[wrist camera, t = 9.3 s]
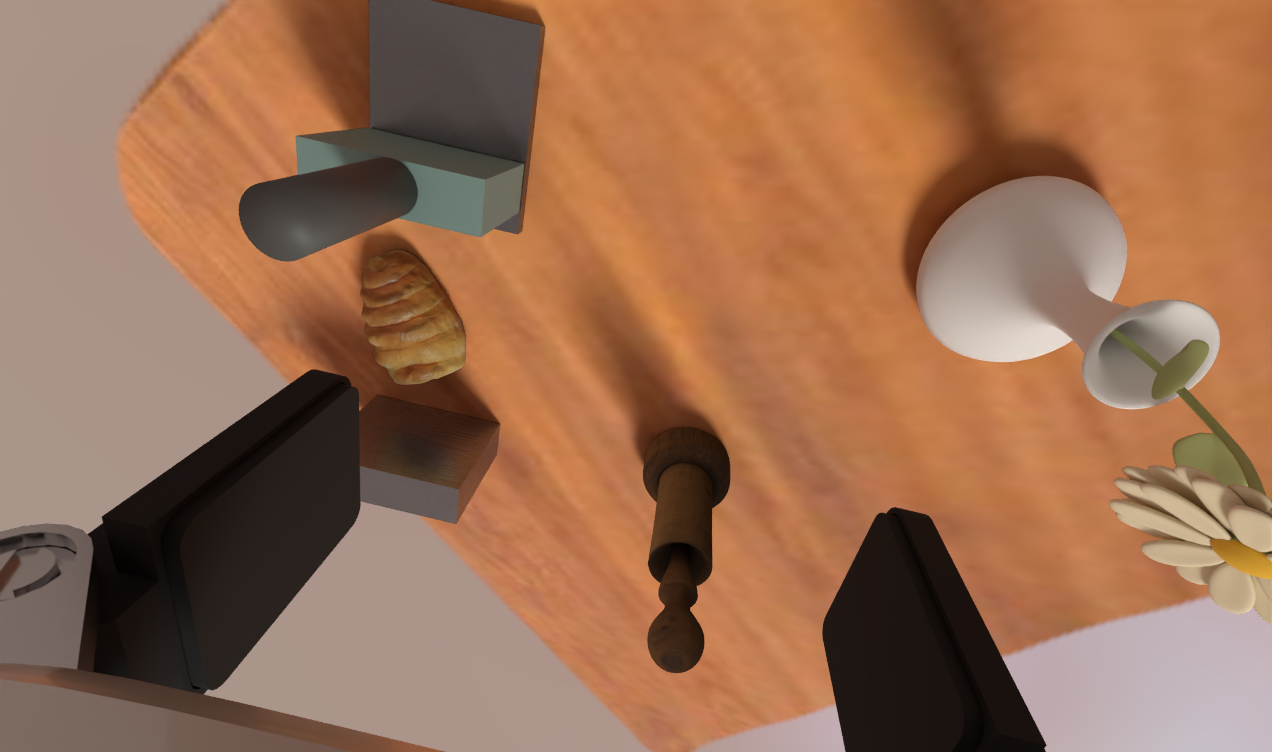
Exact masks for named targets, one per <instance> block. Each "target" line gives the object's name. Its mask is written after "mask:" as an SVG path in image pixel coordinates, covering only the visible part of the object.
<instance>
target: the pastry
mask: <svg viewBox="0 0 1272 752" xmlns="http://www.w3.org/2000/svg"><path fill="white" fill-rule="evenodd" d="M360 295H361V297H362V299H363V302H364V305H363V311H362V317H363V318H364V320H365V321H366V325H365V332H366V334H367V338H368V341H369V342H370V343H371V344H373V345H374V346H375V348H374V351H373V357H374V359H375V360H376V362H377V363H378V364H379V365H381V366H383V367H385V368H387V371H388V373H389V375H390V376H391V377H392V378H393V381H394V382H395V383H397V384H400V385H404V384H406V385H408V384H420V383H425V382H427V381H429V380H432V379H438V378H440V377H443V376H445V375H448V374H450V373H453V372H455V371H456V370H458V369H460V368H462V367H463V366H464V364H465V360H466V335H465V332H464V329H463V326H462V323H461V320H460V318H459V316H458V315H457V313H456V312H455V309H454V307H453V306H452V304H451V302H450V300H449V299H448V297H447V296H446V294H445V293H444V291H443V290H442V288H441V287H440V285H439V284H438V282H437V281H436V279H435V278H434V276H433V275H432V273H431V272H430V271H429V269H428V268H427V267H426V266H425V265H424V264H423V263H422V262H420V261H419V260H418V259H417V258H416V257H415V256H414V255H412V254H410V253H408V252H405V251H402V250H395V251H389V252H386V253H383V254H380V255H376V256H373V257H371V258H370V259H369V260H368V263H367V265H366V267H365V268H364V270H363V287H362V289H361V292H360Z"/></svg>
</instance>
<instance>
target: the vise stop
mask: <svg viewBox="0 0 1272 752" xmlns="http://www.w3.org/2000/svg"><path fill="white" fill-rule="evenodd" d="M499 430H500V424H498V423H494V422H490V421H486V420H481V419H477V418H473V417H469V416H465V415H460V414H456V413H452V412H448V411H443V410H439V409H435V408H431V407H427V406H422V405H418V404H414V403H410V402H405V401H401V400H397V399H393V398H389V397H384V396H380V395H377V396H376V397H374V398H373V399H372V400H371V401H370V402H369V403H368V404H367V405H366V406H365V407H364V408H362V409H361V410H360V411H359V440H360V501H362V502H366V503H370V504H374V505H379V506H383V507H387V508H391V509H395V510H400V511H404V512H408V513H412V514H416V515H420V516H425V517H429V518H433V519H437V520H441V521H445V522H450V523H454V524H457V522H458V520H459V518H460V517H461V515H462V513H463V512H464V510H465V508H466V506H467V505H468V503H469V501H470V500H471V498H472V496H473V494H474V493H475V491H476V489H477V488H478V486H479V484H480V482H481V481H482V479H483V477H484V476H485V474H486V472H487V470H488V469H489V467H490V465H491V464H492V462H493V460H494V458H495V457H496V455H497V447H498V439H499Z"/></svg>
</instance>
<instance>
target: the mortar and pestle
mask: <svg viewBox="0 0 1272 752" xmlns="http://www.w3.org/2000/svg"><path fill="white" fill-rule="evenodd" d="M643 480H644V484H645V487H646V489H647V491H648V493H649V494H650V496H651V497H652V498H653V499H654V500H655V501H656V502H657V505H656V513H655V520H654V527H653V534H652V541H651V547H650V554H649V560H648V566H649V570H650V572H651V574H652V576H653V577H654V578H655V579H656V580H657V581H658V582H660V583H661V584H660V587H659V593H658V594H659V598H660V600H661V602H662V603H663V604H664V605H665V608H664V610H663V611H662V612H661V613H660V614H659V615H658V616H657V617H656V618H655V620H654V621H653V623H652V624H651V626H650V628H649V632H648V649H649V652H650V655H651V657H652V659H653V660H654V662H655V663H656V664H657V665H658V666H659V667H660V668H662V669H663V670H665V671H667V672H671V673H682V672H686V671H688V670H690V669H691V668H693V667H694V666H695V665H696V664H697V663H698V661H699V660H700V658H701V656H702V653H703V650H704V634H703V631H702V628H701V626H700V624H699V623H698V621H697V620H696V618H695V617H694V615H693V614H692V612H691V611H690V607H692V606H693V605H694V604H695V603H696V601H697V598H698V593H697V587H696V586H698V585H700V584H702V583H703V582H705V581H706V580H707V579H708V577H709V576H710V574H711V572H712V508H713V507H715V506H716V505H718V504H719V503H720V502H721V501H722V500H723V499H724V497H725V496H726V494H727V492H728V489H729V485H730V461H729V457H728V454H727V451H726V449H725V448H724V446H723V445H722V444H721V443H720V442H719V441H718V440H717V439H716V438H715V437H713V436H711V435H709V434H707V433H706V432H704V431H701V430H697V429H693V428H677V429H672V430H669V431H666V432H664V433H662V434H660V435H659V436H658V437H656V438H655V439H654V440H653V441H652V442H651V444H650V445H649V447H648V449H647V452H646V455H645V461H644V468H643Z"/></svg>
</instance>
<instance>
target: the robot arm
mask: <svg viewBox="0 0 1272 752" xmlns="http://www.w3.org/2000/svg"><path fill="white" fill-rule="evenodd" d="M359 510H360V440H359V393H358V390H357V389H356V388H355V387H352V386H351V383H350V381H349V379H348V378H347V377H345V376H341V375H337V374H333V373H328V372H324V371H320V370H310V371H308V372H306V373H305V374H304V375H302V376H301V377H299V378H298V379H296V380H295V381H294V382H292V383H291V384H289V385H288V386H286V387H285V388H284V389H282V390H281V391H279V392H278V393H277V394H275V395H274V396H272V397H271V398H269V399H268V400H267V401H265V402H264V403H262V404H261V405H260V406H258V407H257V408H255V409H254V410H252V411H251V412H250V413H248V414H247V415H245V416H244V417H243V418H241V419H240V420H239V421H237V422H235V423H234V424H233V425H231V426H230V427H228V428H227V429H226V430H224V431H223V432H221V433H220V434H218V435H217V436H216V437H214V438H213V439H211V440H210V441H209V442H207V443H206V444H204V445H203V446H201V447H200V448H199V449H197V450H196V451H195V452H193V453H192V454H190V455H189V456H187V457H186V458H185V459H183V460H182V461H180V462H179V463H177V464H176V465H175V466H173V467H172V468H171V469H169V470H167V471H166V472H165V473H163V474H162V475H160V476H159V477H157V478H156V479H155V480H153V481H152V482H151V483H149V484H148V485H146V486H145V487H143V488H142V489H140V490H139V491H138V492H136V493H135V494H133V495H132V496H131V497H129V498H128V499H126V500H125V501H123V502H122V503H121V504H119V505H118V506H116V507H115V508H114V509H112V510H111V511H109V512H108V513H106V514H105V515H104V516H102V520H103V524H101V525H100V526H99V527H97V528H96V529H94V530H93V531H92V532H90V533H89V534H86V533H85V532H84V531H83V530H81V529H78V528H75V527H72V526H69V525H60V524H39V525H29V526H22V527H18V528H14V529H10V530H6V531H2V532H0V752H443V751H440V750H435V749H431V748H427V747H423V746H419V745H415V744H410V743H406V742H402V741H398V740H394V739H390V738H386V737H381V736H377V735H373V734H368V733H365V732H360V731H356V730H352V729H348V728H344V727H340V726H335V725H331V724H327V723H323V722H319V721H314V720H310V719H306V718H302V717H298V716H293V715H289V714H285V713H280V712H277V711H272V710H268V709H264V708H260V707H256V706H252V705H247V704H243V703H239V702H234V701H229V700H225V699H221V698H216V697H211V696H207V695H203V694H204V693H205V692H206V691H207V690H208V689H209V690H215V689H217V688H218V687H220V686H221V685H222V684H223V683H224V682H225V681H226V680H227V679H228V678H229V676H230V675H231V674H232V673H233V671H234V670H235V669H236V668H237V667H238V665H239V664H240V663H241V662H242V660H243V659H244V658H245V657H246V656H247V654H248V653H249V652H250V651H251V649H252V648H253V647H254V646H255V644H256V643H257V642H258V641H259V640H260V638H261V637H262V636H263V635H264V634H265V632H266V631H267V630H268V629H269V627H270V626H271V625H272V624H273V623H274V621H275V620H276V619H277V618H278V616H279V615H280V614H281V613H282V612H283V610H284V609H285V608H286V607H287V605H288V604H289V603H290V602H291V601H292V599H293V598H294V597H295V596H296V594H297V593H298V592H299V591H300V590H301V588H302V587H303V586H304V585H305V583H306V582H307V581H308V580H309V579H310V577H311V576H312V575H313V574H314V572H315V571H316V570H317V568H318V567H319V566H320V565H321V564H322V563H323V561H324V560H325V559H326V557H327V556H328V555H329V554H330V553H331V552H332V550H333V549H334V548H335V547H336V545H337V544H338V543H339V542H340V541H341V539H342V538H343V537H344V536H345V534H346V533H347V532H348V531H349V529H350V528H351V527H352V526H353V524H354V523H355V521H356V519H357V516H358V514H359ZM823 642H824V647H825V652H826V657H827V662H828V667H829V672H830V677H831V682H832V686H833V691H834V696H835V701H836V706H837V711H838V716H839V721H840V726H841V731H842V736H843V741H844V746H845V751H846V752H1046V751H1045V749H1044V748H1045V746H1046V744H1045V741H1044V739H1043V737H1042V735H1041V733H1040V732H1039V729H1038V727H1037V726H1036V724H1035V722H1034V720H1033V718H1032V716H1031V714H1030V712H1029V710H1028V708H1027V706H1026V704H1025V702H1024V700H1023V698H1022V696H1021V694H1020V692H1019V690H1018V689H1017V686H1016V684H1015V682H1014V680H1013V678H1012V677H1011V674H1010V673H1009V670H1008V669H1007V667H1006V665H1005V663H1004V661H1003V659H1002V657H1001V655H1000V653H999V651H998V649H997V647H996V645H995V643H994V641H993V639H992V637H991V635H990V633H989V631H988V629H987V627H986V625H985V623H984V621H983V619H982V617H981V615H980V613H979V611H978V610H977V608H976V606H975V604H974V602H973V600H972V598H971V596H970V594H969V592H968V590H967V588H966V586H965V584H964V582H963V580H962V578H961V576H960V574H959V572H958V570H957V568H956V566H955V564H954V562H953V560H952V558H951V556H950V555H949V553H948V551H947V549H946V547H945V545H944V543H943V541H942V539H941V537H940V535H939V533H938V531H937V529H936V527H935V525H934V523H933V521H932V519H931V518H930V517H929V516H928V515H926V514H922V513H918V512H913V511H909V510H905V509H901V508H896V507H894V508H891V509H890V510H889V511H888V512H887V513H879V514H878V515H877V516H876V518H875V519H874V521H873V523H872V525H871V527H870V529H869V531H868V533H867V535H866V537H865V539H864V541H863V543H862V545H861V547H860V549H859V551H858V553H857V555H856V557H855V559H854V561H853V563H852V565H851V567H850V569H849V571H848V573H847V575H846V577H845V579H844V581H843V583H842V585H841V587H840V589H839V591H838V593H837V595H836V597H835V599H834V601H833V603H832V605H831V607H830V609H829V611H828V613H827V614H826V617H825V619H824V623H823Z"/></svg>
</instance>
